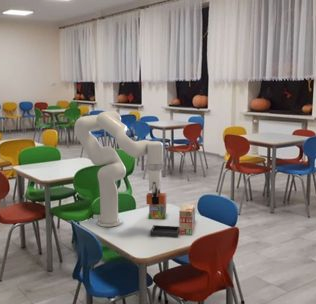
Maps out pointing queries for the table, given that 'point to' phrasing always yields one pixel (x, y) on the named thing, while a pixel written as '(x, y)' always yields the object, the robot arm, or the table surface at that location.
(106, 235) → the table surface
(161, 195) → the orange rectangular block
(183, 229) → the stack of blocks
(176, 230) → the frame
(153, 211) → the chalk box
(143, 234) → the table surface
